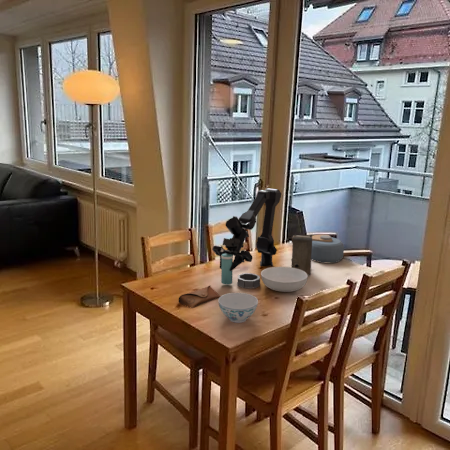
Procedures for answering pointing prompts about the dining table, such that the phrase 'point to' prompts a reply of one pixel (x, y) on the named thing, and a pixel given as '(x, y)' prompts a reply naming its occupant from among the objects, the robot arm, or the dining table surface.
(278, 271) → the serving bowl
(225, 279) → the teal peg
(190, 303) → the sunglasses case
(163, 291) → the dining table surface
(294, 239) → the vintage camera
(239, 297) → the chinaware
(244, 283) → the socket ring
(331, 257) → the grey squat cylinder
